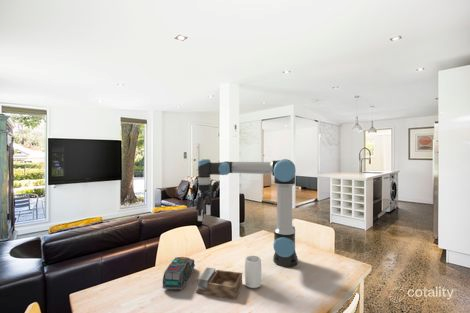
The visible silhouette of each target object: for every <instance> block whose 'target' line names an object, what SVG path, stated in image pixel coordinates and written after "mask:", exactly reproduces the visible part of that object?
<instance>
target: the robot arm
mask: <svg viewBox="0 0 470 313" xmlns="http://www.w3.org/2000/svg"><path fill="white" fill-rule="evenodd" d="M197 162H198V163H197V172H198V174H197V175H198V176H197V180H198V181H197V182H198V185H197V186H198V187H197V190H198V191H200V193H199V192H198V193H197V194H198V195H197V202H196V208H195V210H196V211H197V221H198V222H203V219H204V218H203V216H204V214H203V207H204V203H206V205H205V212H206V213H205V215H206V216H211V206H212V205H213V201H212V196H211V175H215V176H216V175H217V176H228V175H229V174H250V175H251V174H257V175H271V176H272V177H274V181H273V183H274V185H276V227H275V229H274V232H273V233H274V235H273V236H274V237H273V238H274V239H273V240H274V241H273V250H274V253H273V263H274V264H276V265H277V266H280V267H284V268H292V267H296V266H297V265H298V264H299V258H298V256H297V252H296V227H295V226H294V225H293V186H294V185H295V184H296V165H295V163H294V162H293V161H292V160H290V159H286V158H285V159H279V160H272V161H270V162H269V161H228V160H227V161H221V162H212V161H211V159H210V158H209V159H208V158H207V159H205V158H203V159H201V158H200V159H198V161H197Z"/></svg>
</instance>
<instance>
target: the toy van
mask: <svg viewBox="0 0 470 313" xmlns="http://www.w3.org/2000/svg"><path fill="white" fill-rule="evenodd" d="M195 266H196V264H195V259H193V258H190V257H185V256H179V257H174V259H173V260H172V261H171V262H170V264H168V266H167V267H166V269H165V270H164V272H163V277H162V287H161V288H162V289H164V290H165V289H166V290H182V289H184V288H185V286H186V282H187V280H188V279H189V277H190V276H191V273H193V272H194V270H195Z"/></svg>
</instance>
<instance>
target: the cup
mask: <svg viewBox="0 0 470 313" xmlns="http://www.w3.org/2000/svg"><path fill="white" fill-rule="evenodd" d="M244 278H245V279H244V282H245V285H246V286H247V287H248V288H251V289H256V288H259V287H260V286H262V260H261V257H260V256H257V255H249V256H248V255H247V256H246V257H245V260H244Z"/></svg>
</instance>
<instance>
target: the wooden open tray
mask: <svg viewBox="0 0 470 313" xmlns="http://www.w3.org/2000/svg"><path fill="white" fill-rule="evenodd" d="M242 285H243V272H237V271H230V270H229V271H228V270H223V269H222V270H221V269H216V268H214V267H206V268H205V269H204V270H203V272H202V273H201V274H200V275H199V277H198V279H197V288H196V290H195V293H196V294H200V295H207V296H213V297H214V296H215V297H220V298H226V299H232V300H236V299H237V297H238V294H239V292H240V290H241V288H242Z"/></svg>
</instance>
